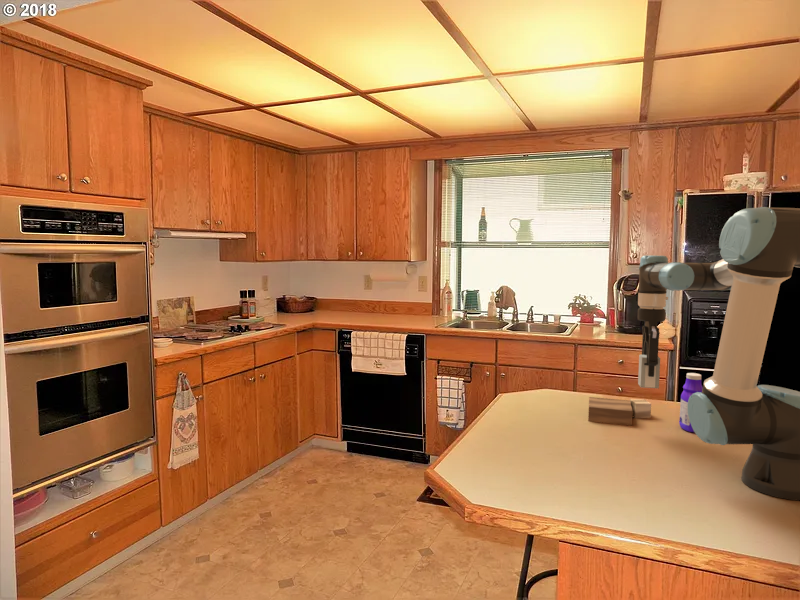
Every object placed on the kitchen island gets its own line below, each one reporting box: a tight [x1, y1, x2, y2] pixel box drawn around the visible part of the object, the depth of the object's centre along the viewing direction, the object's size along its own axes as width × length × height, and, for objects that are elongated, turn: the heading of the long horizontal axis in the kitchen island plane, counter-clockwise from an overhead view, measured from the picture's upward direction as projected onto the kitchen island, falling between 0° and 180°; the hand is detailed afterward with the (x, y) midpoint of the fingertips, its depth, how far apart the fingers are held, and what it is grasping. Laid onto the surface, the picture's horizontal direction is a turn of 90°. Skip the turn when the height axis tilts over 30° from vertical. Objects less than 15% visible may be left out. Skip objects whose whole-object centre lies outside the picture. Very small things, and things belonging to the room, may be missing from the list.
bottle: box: [678, 372, 703, 433], centre depth 170 cm, size 7×6×17 cm
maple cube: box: [629, 398, 652, 419], centre depth 184 cm, size 5×5×5 cm
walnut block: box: [587, 396, 633, 427], centre depth 182 cm, size 13×13×5 cm
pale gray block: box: [637, 354, 661, 390], centre depth 166 cm, size 5×5×9 cm
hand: (648, 384), depth 166 cm, fingers closed on pale gray block, 5 cm apart
